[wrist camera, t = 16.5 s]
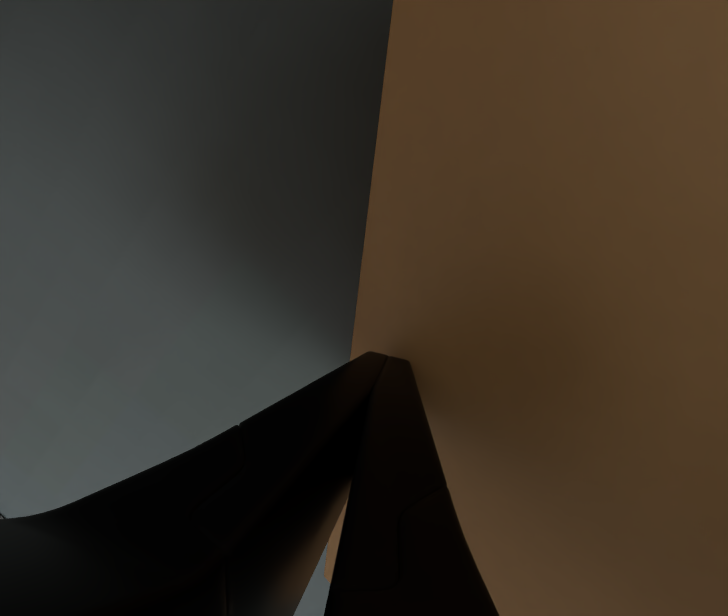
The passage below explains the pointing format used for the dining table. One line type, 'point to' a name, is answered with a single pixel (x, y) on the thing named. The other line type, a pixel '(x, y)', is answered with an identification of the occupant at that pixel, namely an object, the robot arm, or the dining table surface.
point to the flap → (562, 290)
